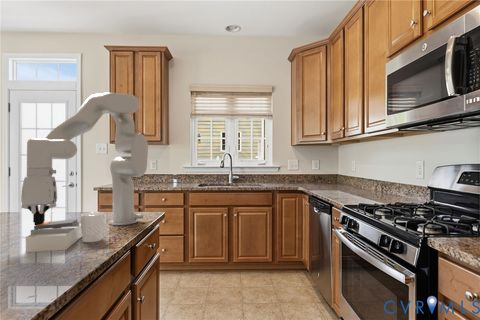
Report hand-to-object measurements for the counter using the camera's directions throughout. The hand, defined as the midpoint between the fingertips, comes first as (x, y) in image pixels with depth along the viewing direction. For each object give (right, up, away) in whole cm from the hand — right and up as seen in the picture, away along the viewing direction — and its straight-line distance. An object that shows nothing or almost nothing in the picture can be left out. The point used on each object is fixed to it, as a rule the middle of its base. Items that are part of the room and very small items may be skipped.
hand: (38, 224), depth 106 cm
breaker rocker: (+5, 0, +1) cm, 6 cm away
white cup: (+16, -8, +6) cm, 19 cm away
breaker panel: (+5, -7, +2) cm, 9 cm away
